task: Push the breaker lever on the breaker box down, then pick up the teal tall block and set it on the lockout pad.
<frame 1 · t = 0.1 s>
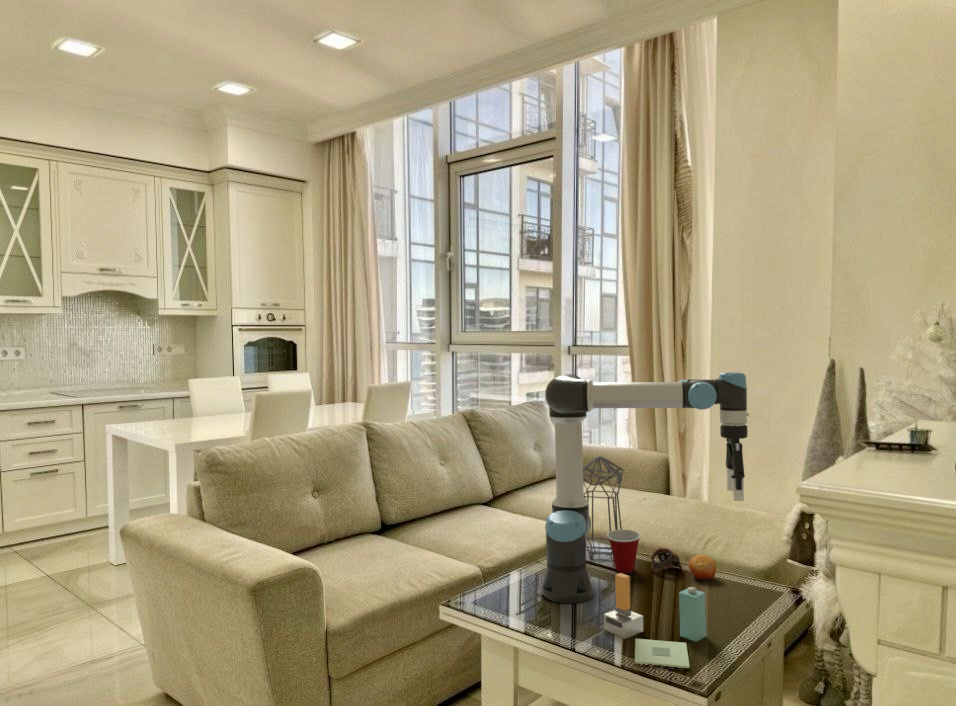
hand: (735, 495, 193), 28 cm above the table, tool pointing down, fingers open, 13 cm apart
breaker lever: (622, 594, 167), point 9 cm above the table, hinge at 0.0°
pottery mug: (665, 570, 211), on the table
plastic cup: (624, 571, 212), on the table
breaker box: (623, 630, 167), on the table
teal tall block: (692, 636, 163), on the table
lockout pad: (661, 655, 153), on the table
fruit: (702, 579, 203), on the table
geometric lantern: (602, 556, 227), on the table
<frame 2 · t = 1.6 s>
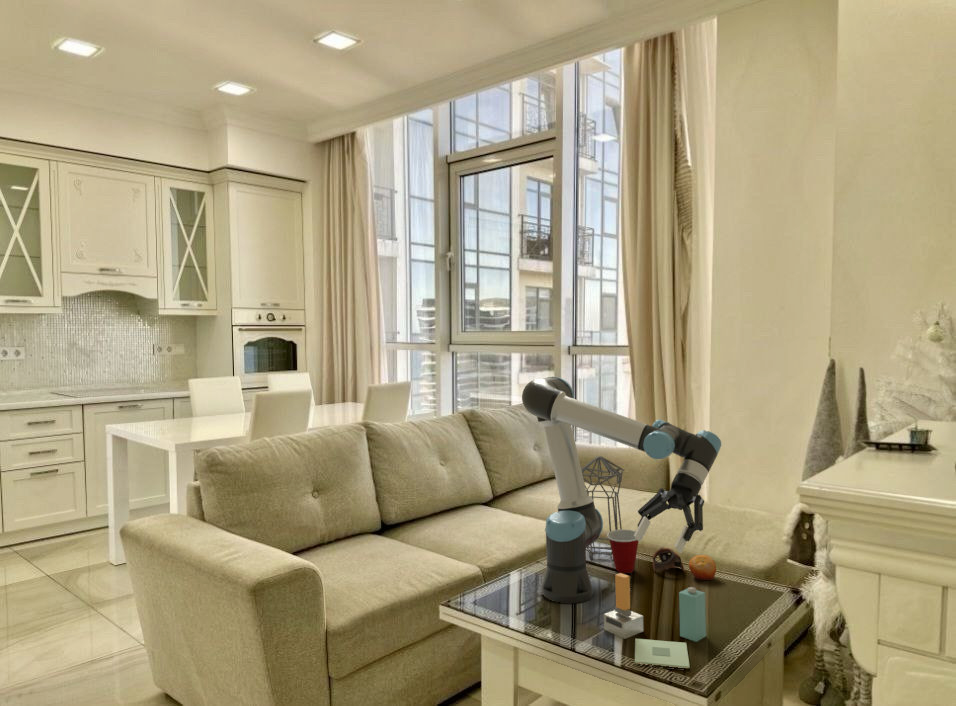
hand: (656, 544, 174), 20 cm above the table, tool tilted 45°, fingers open, 13 cm apart
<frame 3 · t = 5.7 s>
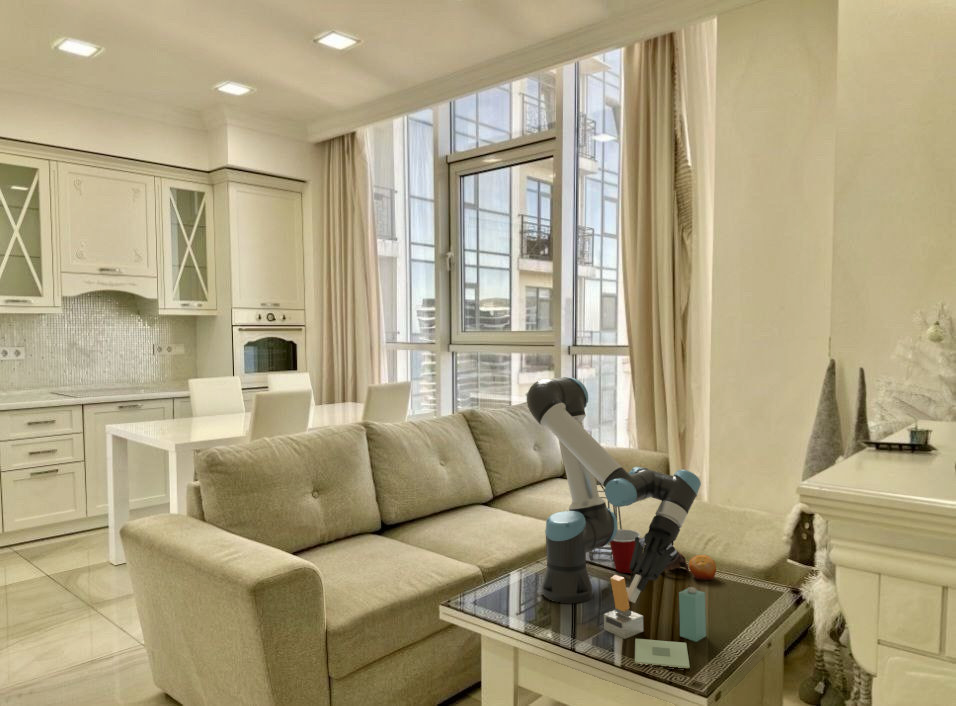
hand: (630, 599, 167), 8 cm above the table, tool tilted 45°, fingers closed
breaker lever: (620, 595, 166), point 9 cm above the table, hinge at 12.0°, touching gripper
pottery mug: (672, 571, 211), on the table
everything else where it was.
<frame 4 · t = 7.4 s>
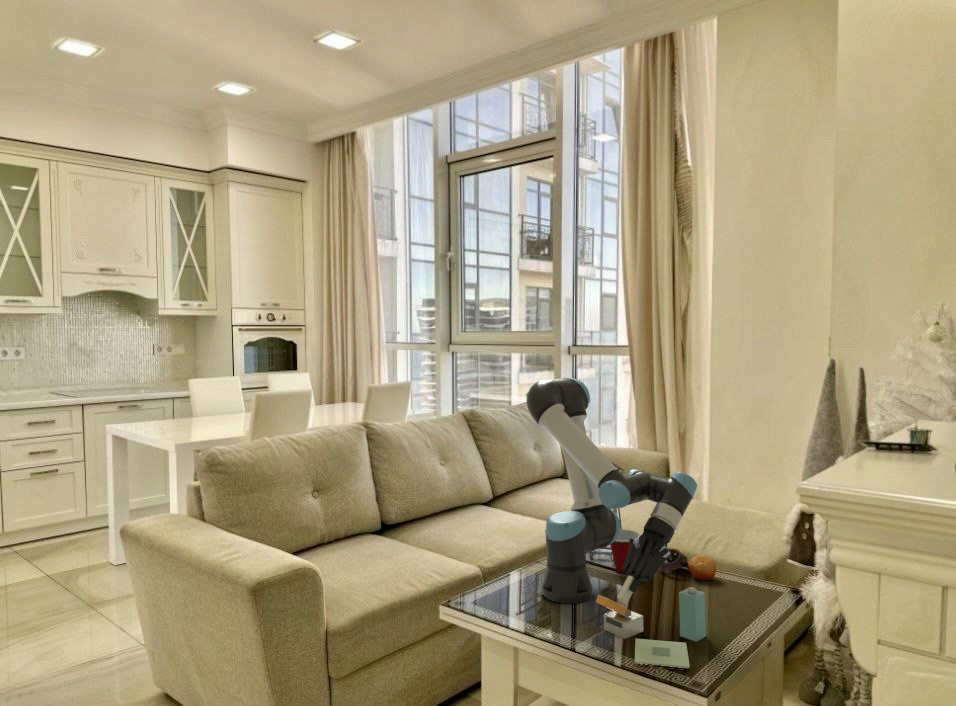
hand: (621, 600, 166), 8 cm above the table, tool tilted 45°, fingers closed
breaker lever: (613, 606, 165), point 7 cm above the table, hinge at 58.7°
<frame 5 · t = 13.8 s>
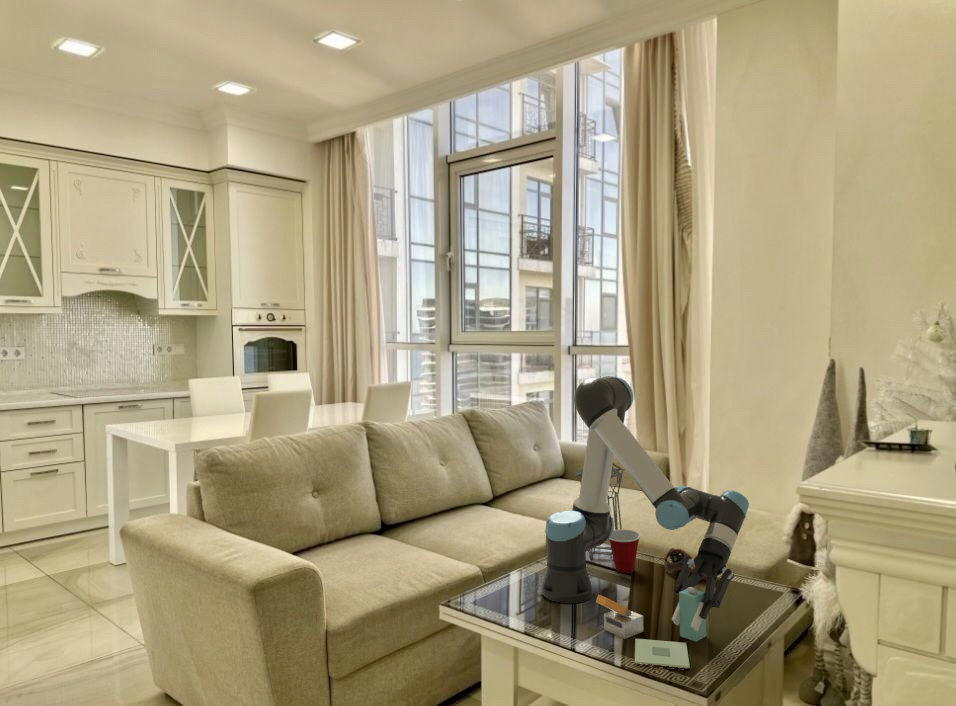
hand: (684, 625, 160), 4 cm above the table, tool tilted 45°, fingers closed on teal tall block, 4 cm apart
pottery mug: (679, 571, 210), on the table, touching fruit
teal tall block: (692, 636, 163), on the table, touching gripper
fruit: (702, 579, 203), on the table, touching pottery mug
everything else where it was.
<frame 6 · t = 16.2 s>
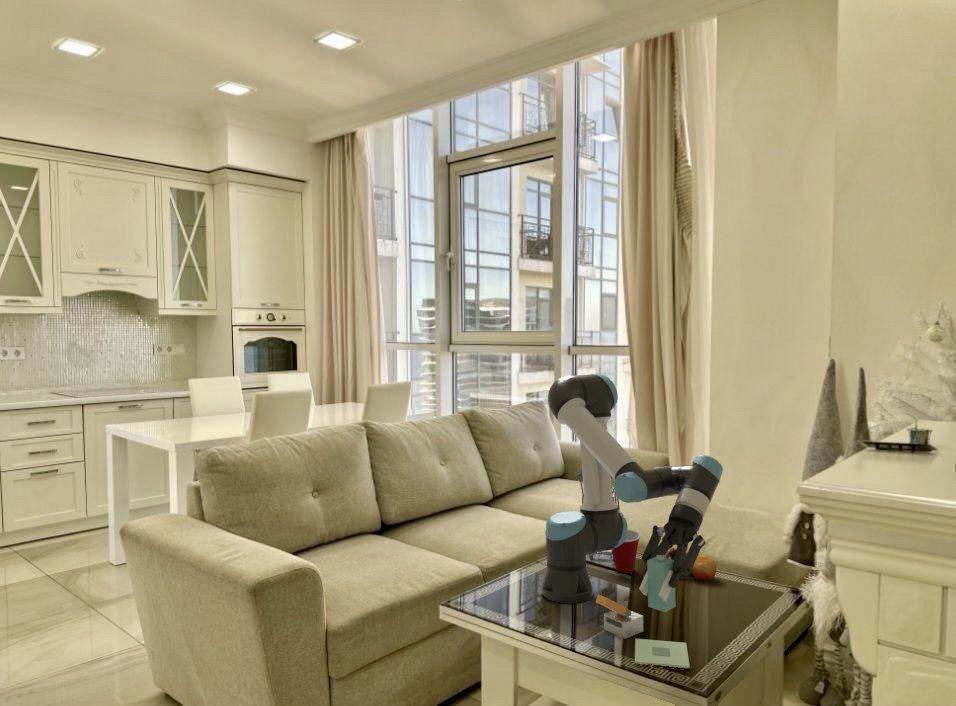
hand: (652, 595, 151), 15 cm above the table, tool tilted 45°, fingers closed on teal tall block, 4 cm apart
pottery mug: (679, 571, 210), on the table
teal tall block: (661, 606, 153), point 11 cm above the table, touching gripper
fruit: (702, 579, 203), on the table
everything else where it was.
when the fingers open (6 cm above the table, at t = 18.7 s): teal tall block drops 1 cm, resting on lockout pad.
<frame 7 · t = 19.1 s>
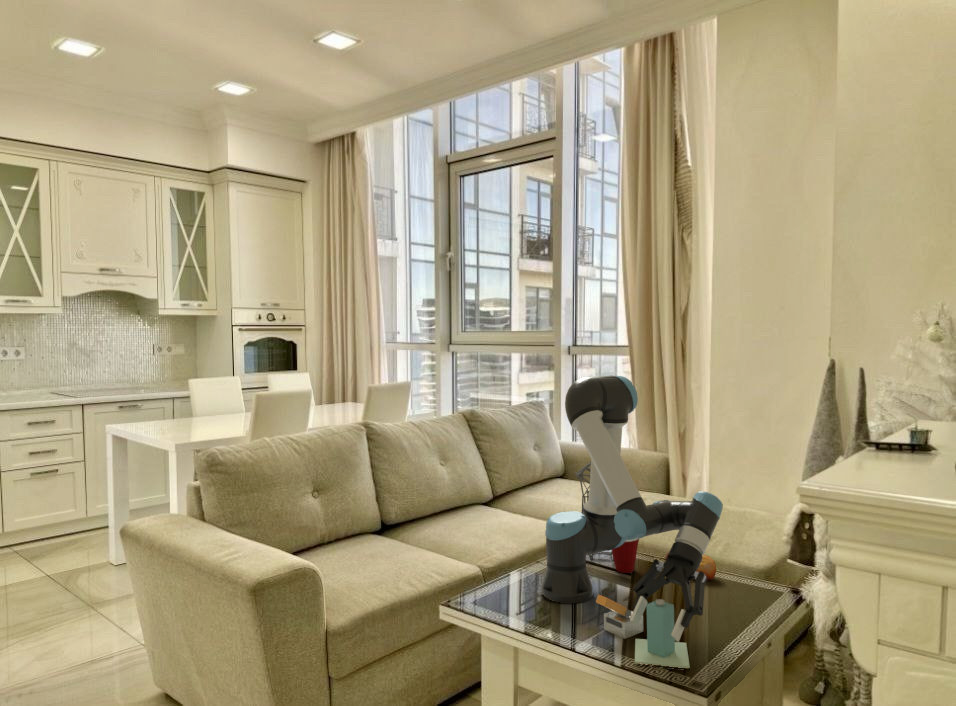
hand: (653, 630, 151), 7 cm above the table, tool tilted 45°, fingers open, 10 cm apart
pottery mug: (679, 571, 210), on the table, touching fruit
teal tall block: (661, 651, 153), point 1 cm above the table, touching lockout pad
fruit: (702, 579, 203), on the table, touching pottery mug
everything else where it was.
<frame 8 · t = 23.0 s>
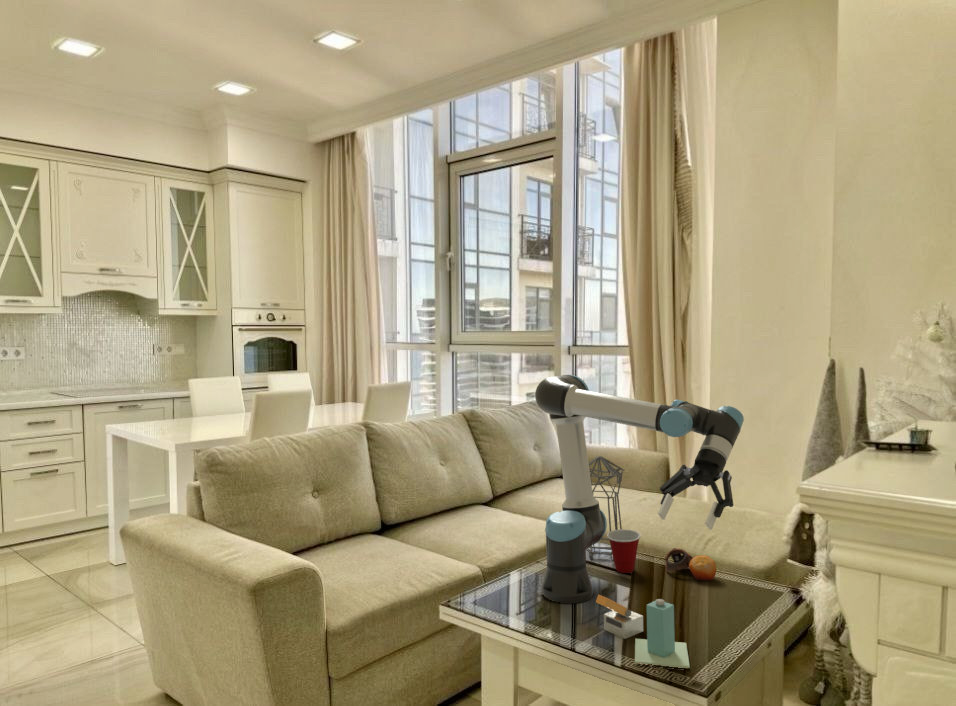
hand: (683, 521, 167), 28 cm above the table, tool tilted 45°, fingers open, 13 cm apart
pottery mug: (680, 571, 210), on the table
fruit: (702, 579, 202), on the table
everything else where it was.
at the end: breaker lever at +59° (first picture: +0°); teal tall block inside the target area on the lockout pad (0.1 cm from its centre), point 0.9 cm above the lockout pad's base; teal tall block tilted 0° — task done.
